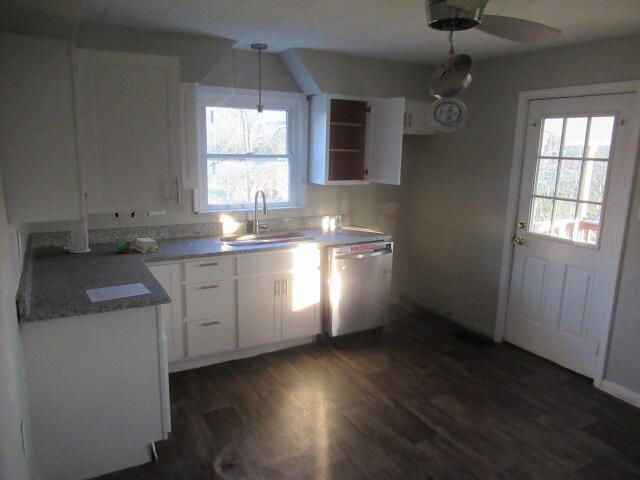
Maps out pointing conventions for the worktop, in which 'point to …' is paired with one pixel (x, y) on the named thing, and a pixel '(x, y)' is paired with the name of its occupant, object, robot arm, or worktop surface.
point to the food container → (123, 245)
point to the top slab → (145, 242)
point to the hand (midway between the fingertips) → (124, 217)
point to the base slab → (147, 249)
